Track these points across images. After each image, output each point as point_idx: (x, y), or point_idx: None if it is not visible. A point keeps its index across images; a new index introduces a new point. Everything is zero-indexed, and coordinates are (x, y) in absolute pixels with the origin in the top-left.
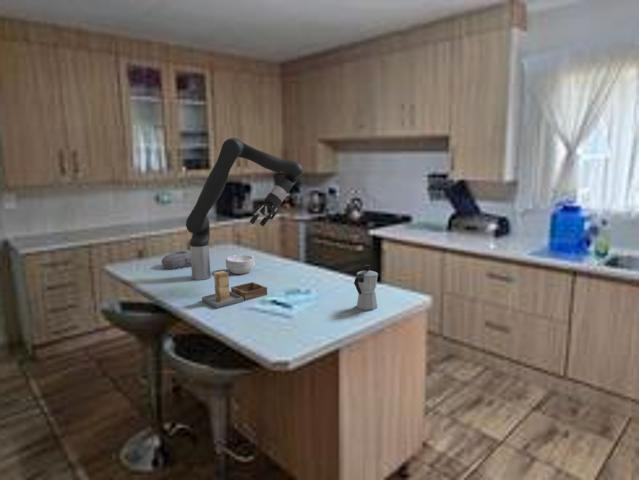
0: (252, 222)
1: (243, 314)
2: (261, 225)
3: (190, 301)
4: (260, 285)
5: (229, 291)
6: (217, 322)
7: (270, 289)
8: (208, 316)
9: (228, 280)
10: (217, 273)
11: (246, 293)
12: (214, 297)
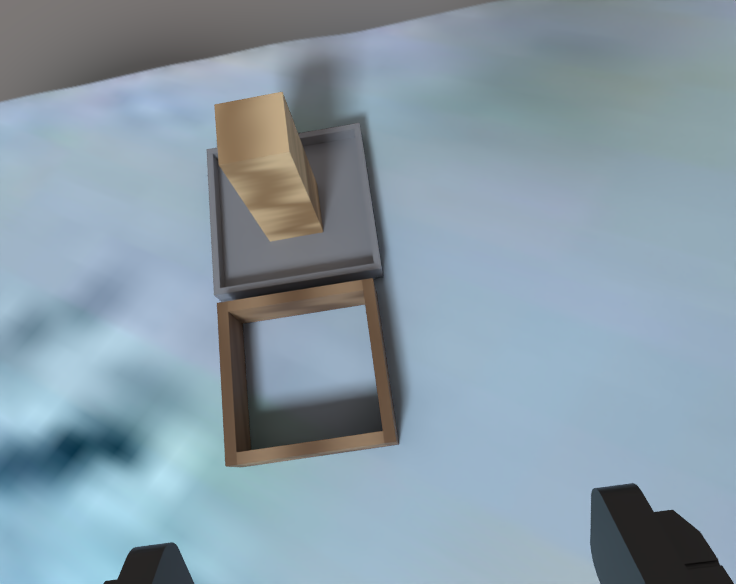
0: (600, 547)
1: (69, 235)
2: (186, 580)
3: (393, 93)
4: (290, 450)
5: (359, 268)
6: (68, 119)
7: (326, 542)
8: (153, 108)
9: (235, 188)
10: (255, 105)
11: (219, 314)
12: (353, 189)
